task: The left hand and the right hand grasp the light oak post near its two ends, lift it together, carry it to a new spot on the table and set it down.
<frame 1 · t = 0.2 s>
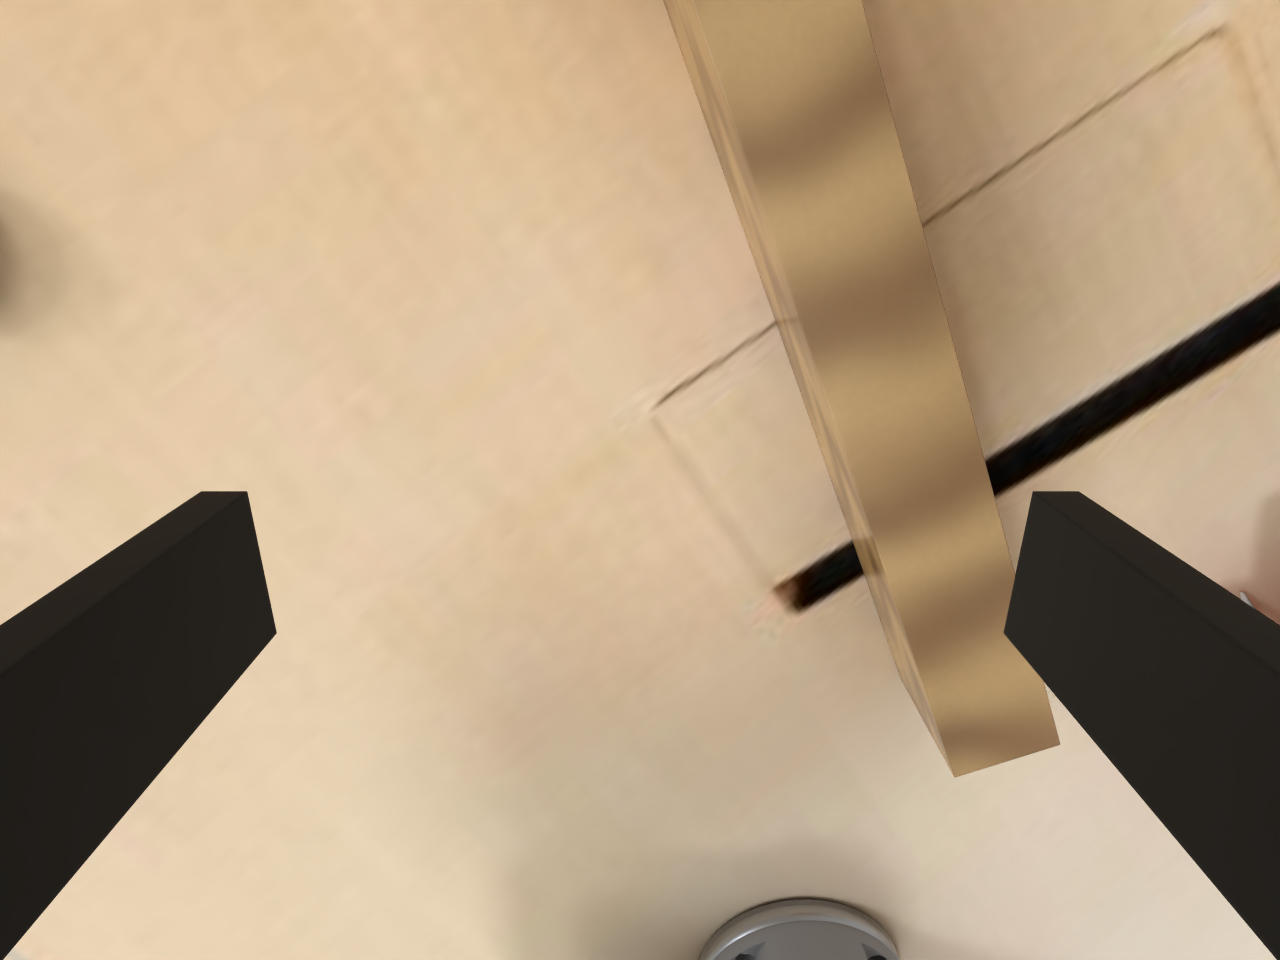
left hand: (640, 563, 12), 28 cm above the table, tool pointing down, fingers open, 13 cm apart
post: (820, 281, 37), on the table
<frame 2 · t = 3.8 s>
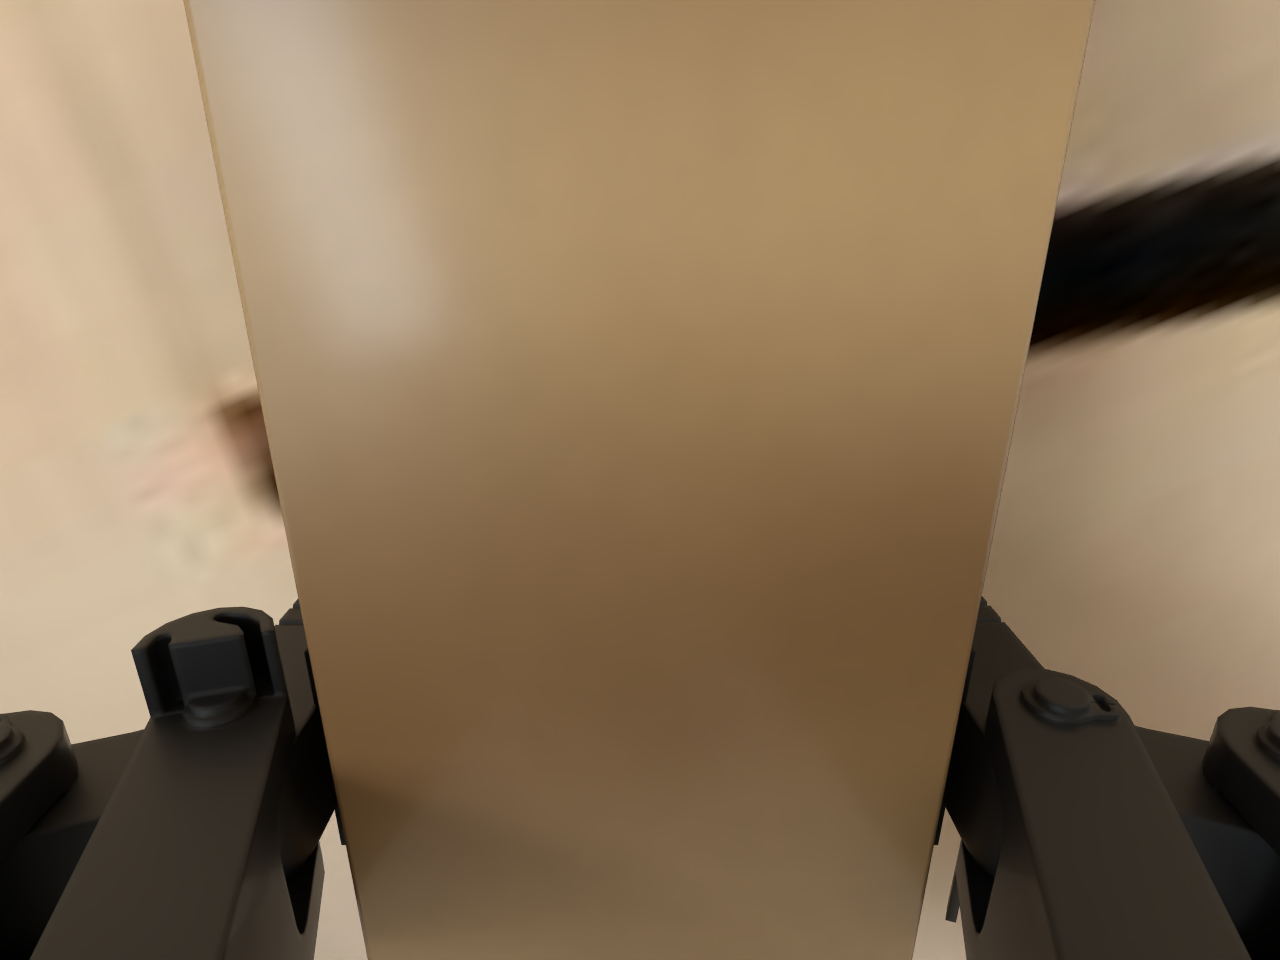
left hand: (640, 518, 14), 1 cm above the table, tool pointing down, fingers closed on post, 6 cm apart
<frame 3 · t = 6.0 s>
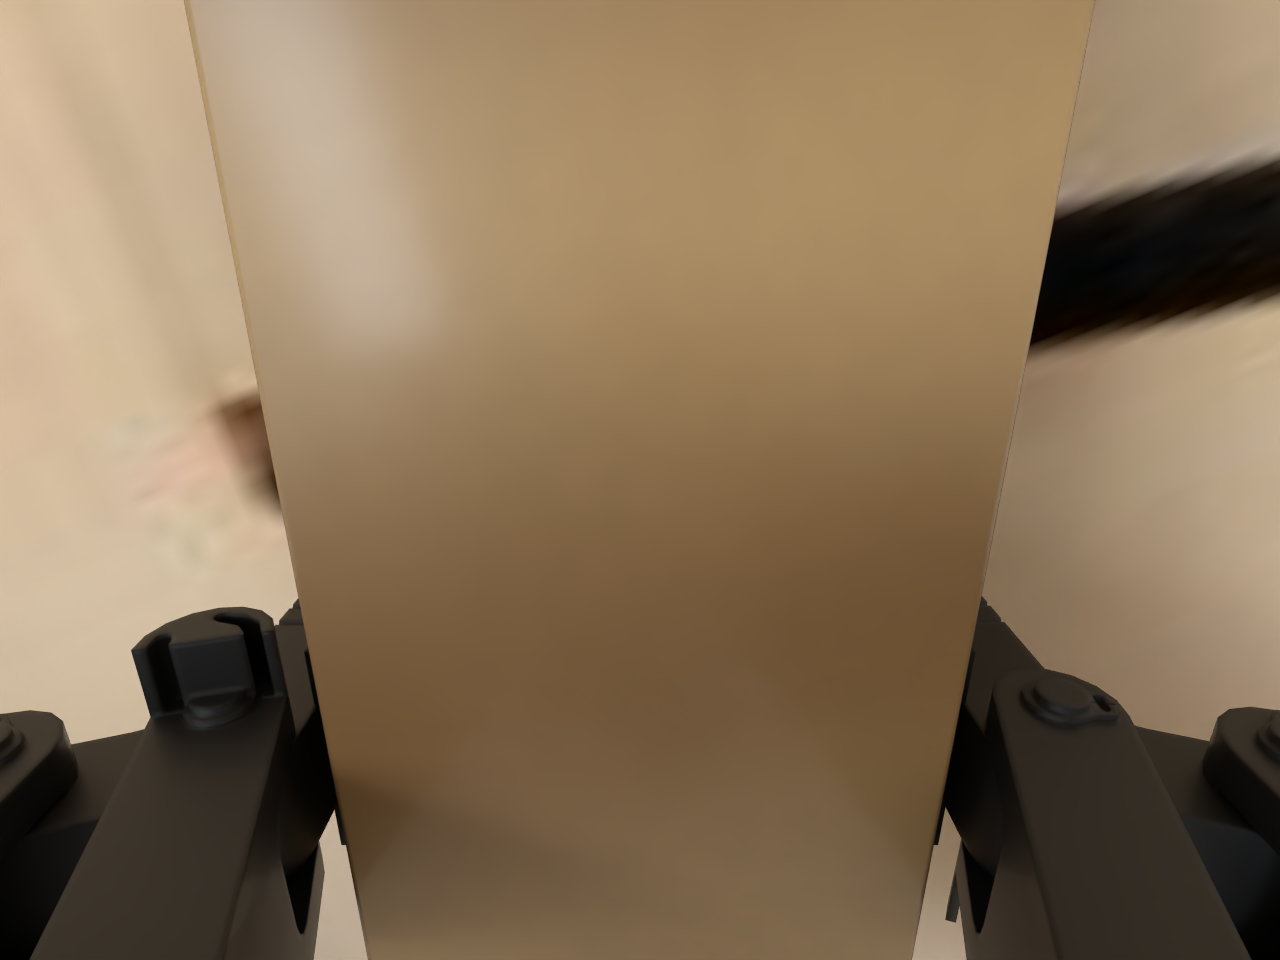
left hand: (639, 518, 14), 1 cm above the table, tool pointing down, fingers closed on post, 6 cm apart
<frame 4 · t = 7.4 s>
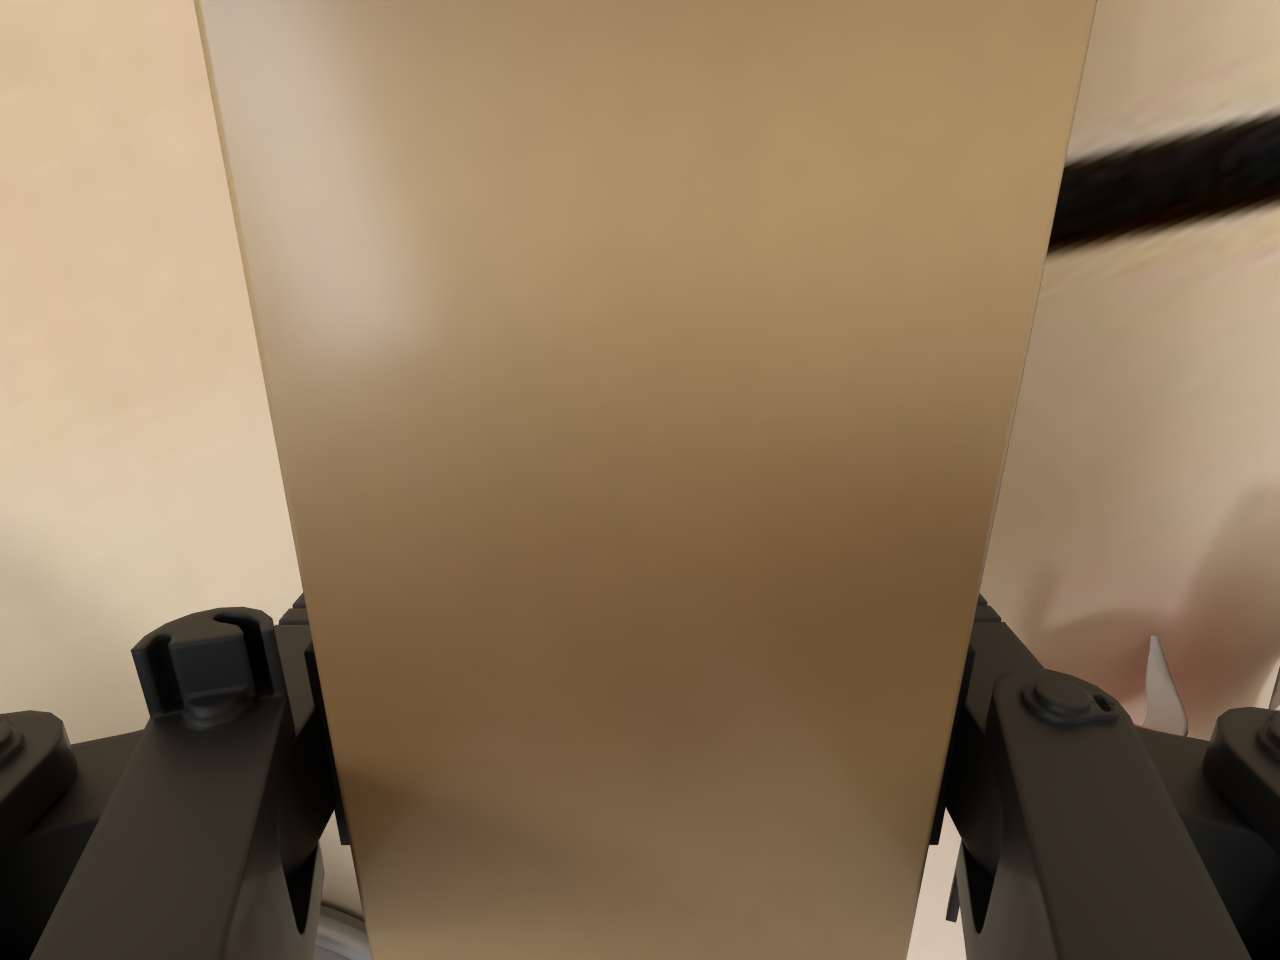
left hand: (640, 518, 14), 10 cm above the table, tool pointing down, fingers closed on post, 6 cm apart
fish: (1137, 667, 27), on the table
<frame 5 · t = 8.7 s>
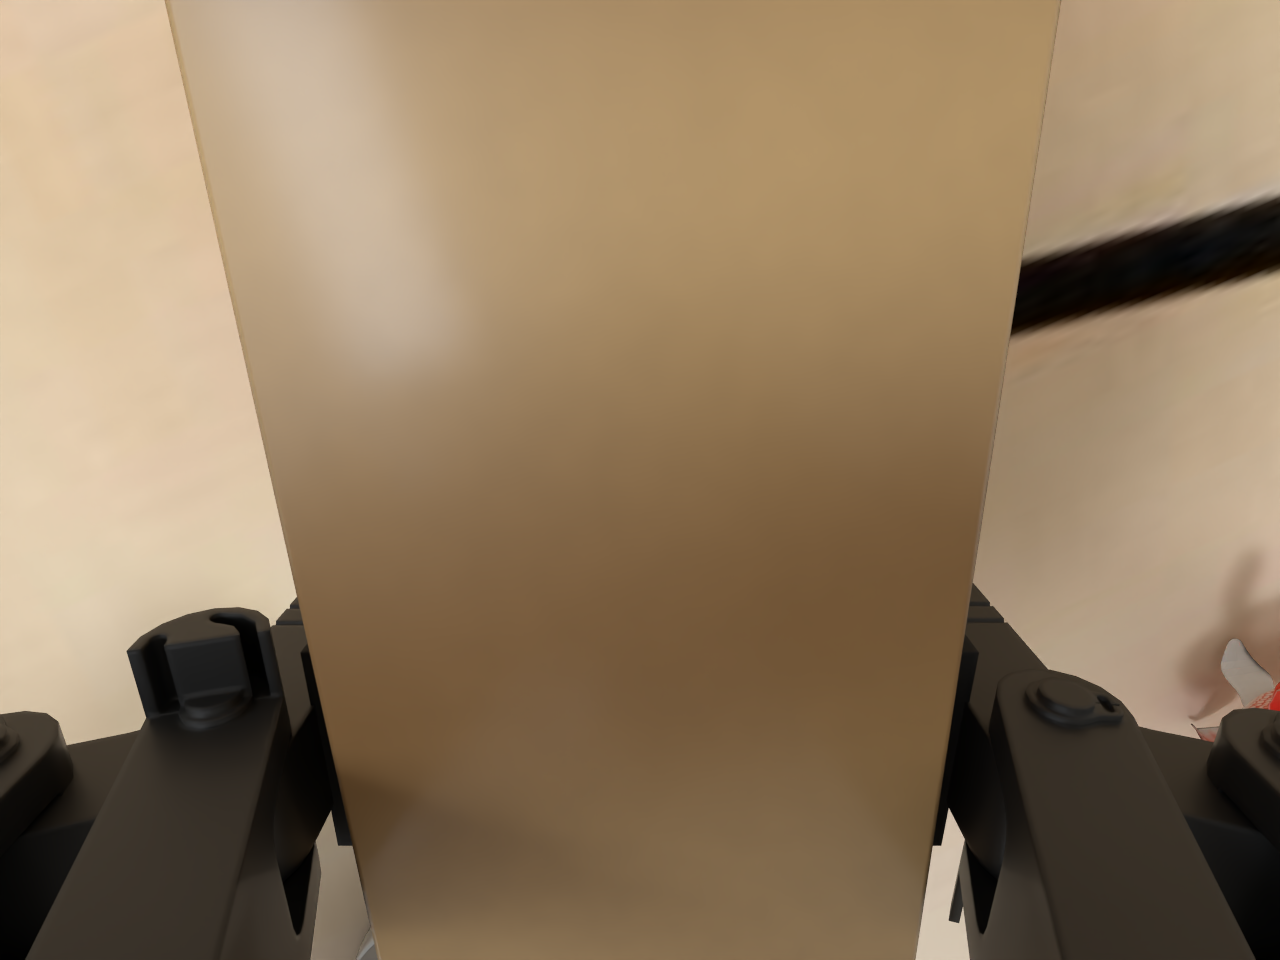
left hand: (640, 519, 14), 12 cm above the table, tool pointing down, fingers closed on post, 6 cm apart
when the left hand's fingers open (2 cm above the table, at t = 11.3 s): post drops 1 cm, held by the right hand.
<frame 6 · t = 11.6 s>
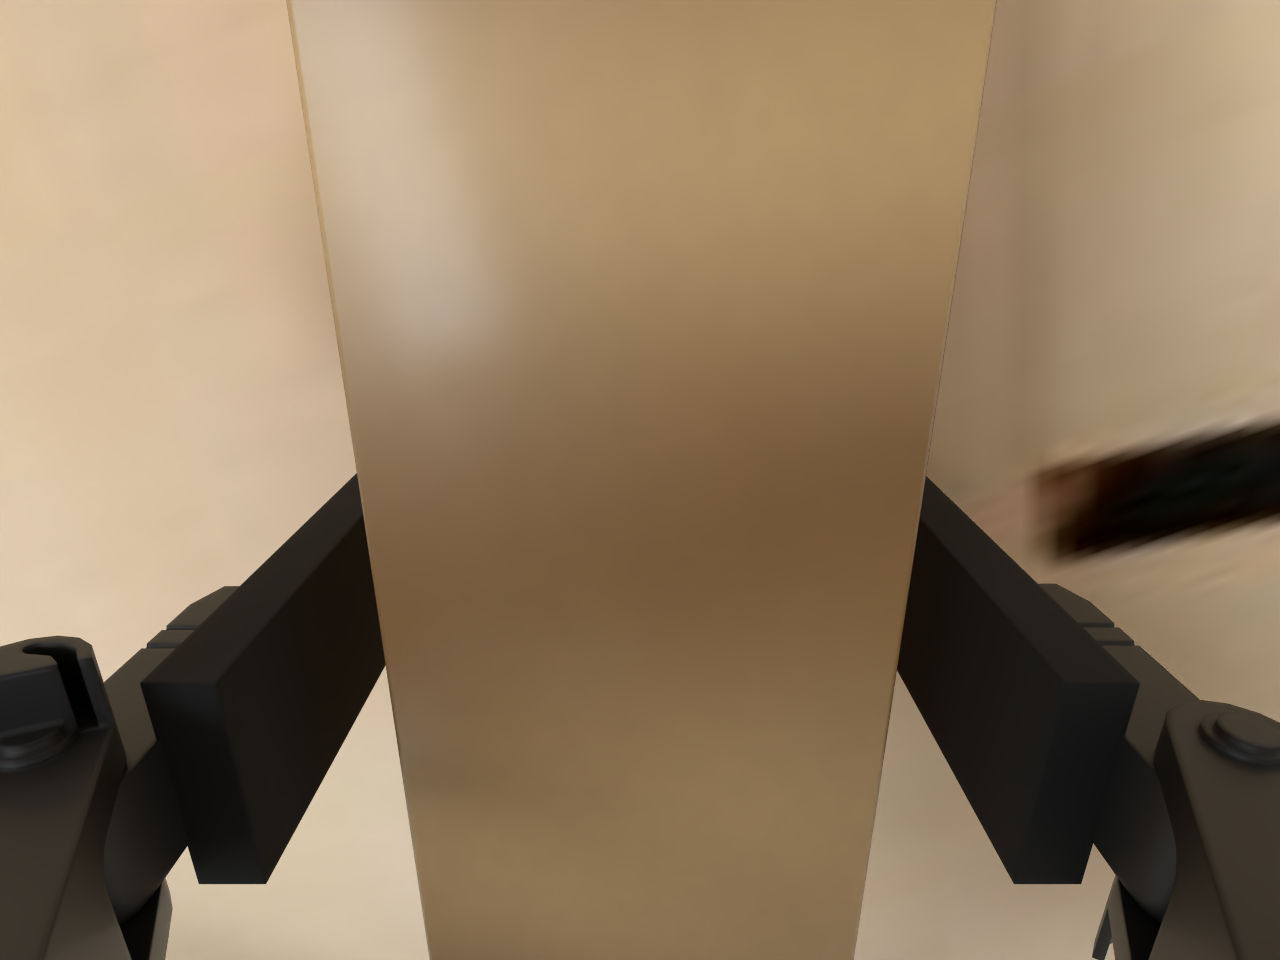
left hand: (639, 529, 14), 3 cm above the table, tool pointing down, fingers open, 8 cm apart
when the right hand's fingers open (4 cm above the table, at t = 11.6 s): post stays where it is, on the table.
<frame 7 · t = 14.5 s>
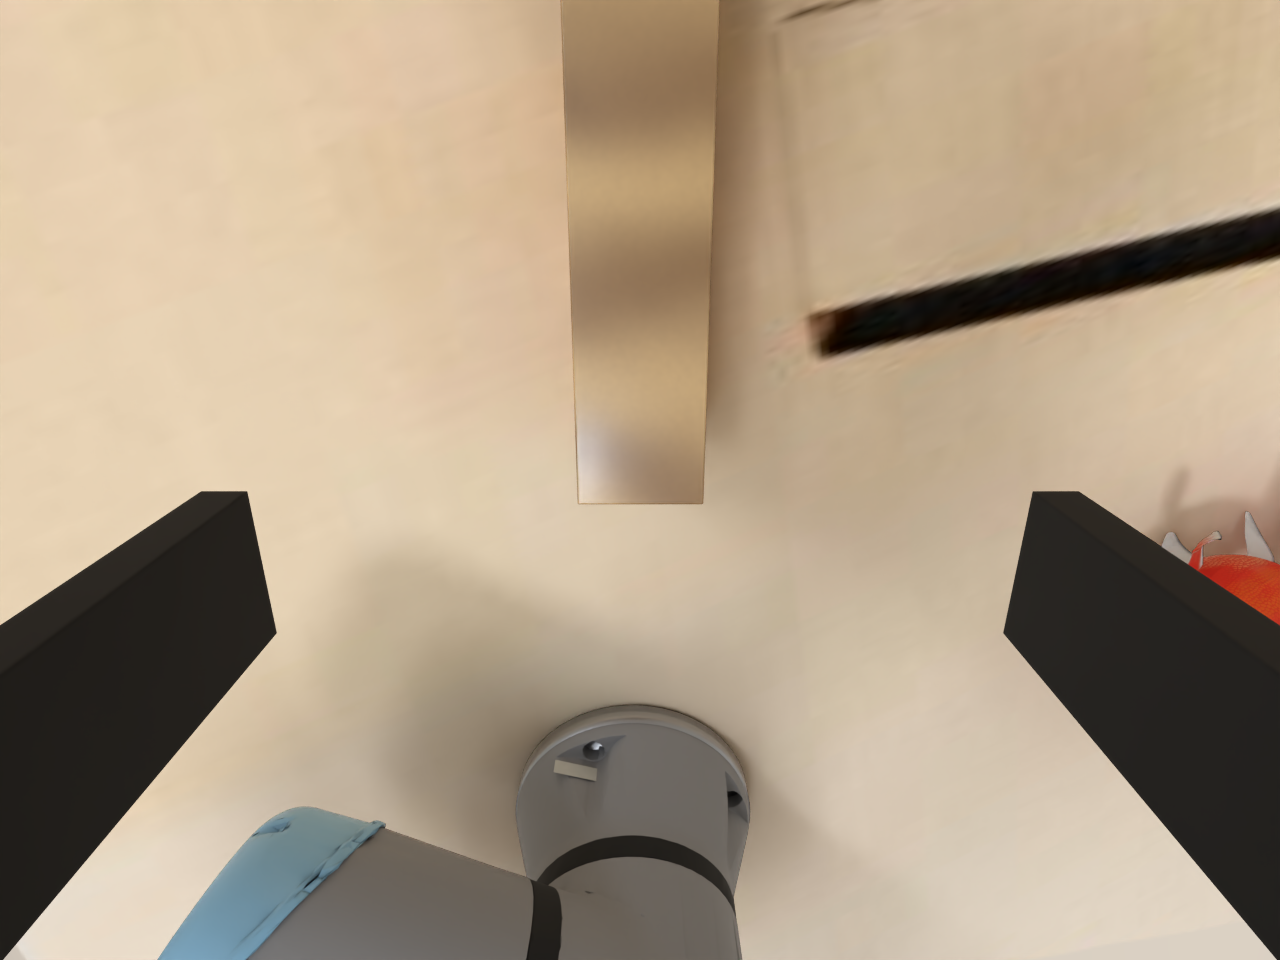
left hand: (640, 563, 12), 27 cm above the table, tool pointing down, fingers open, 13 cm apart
fish: (1235, 534, 42), on the table
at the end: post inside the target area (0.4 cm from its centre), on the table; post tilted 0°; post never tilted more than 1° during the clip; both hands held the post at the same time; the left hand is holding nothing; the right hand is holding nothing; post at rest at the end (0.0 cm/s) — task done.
